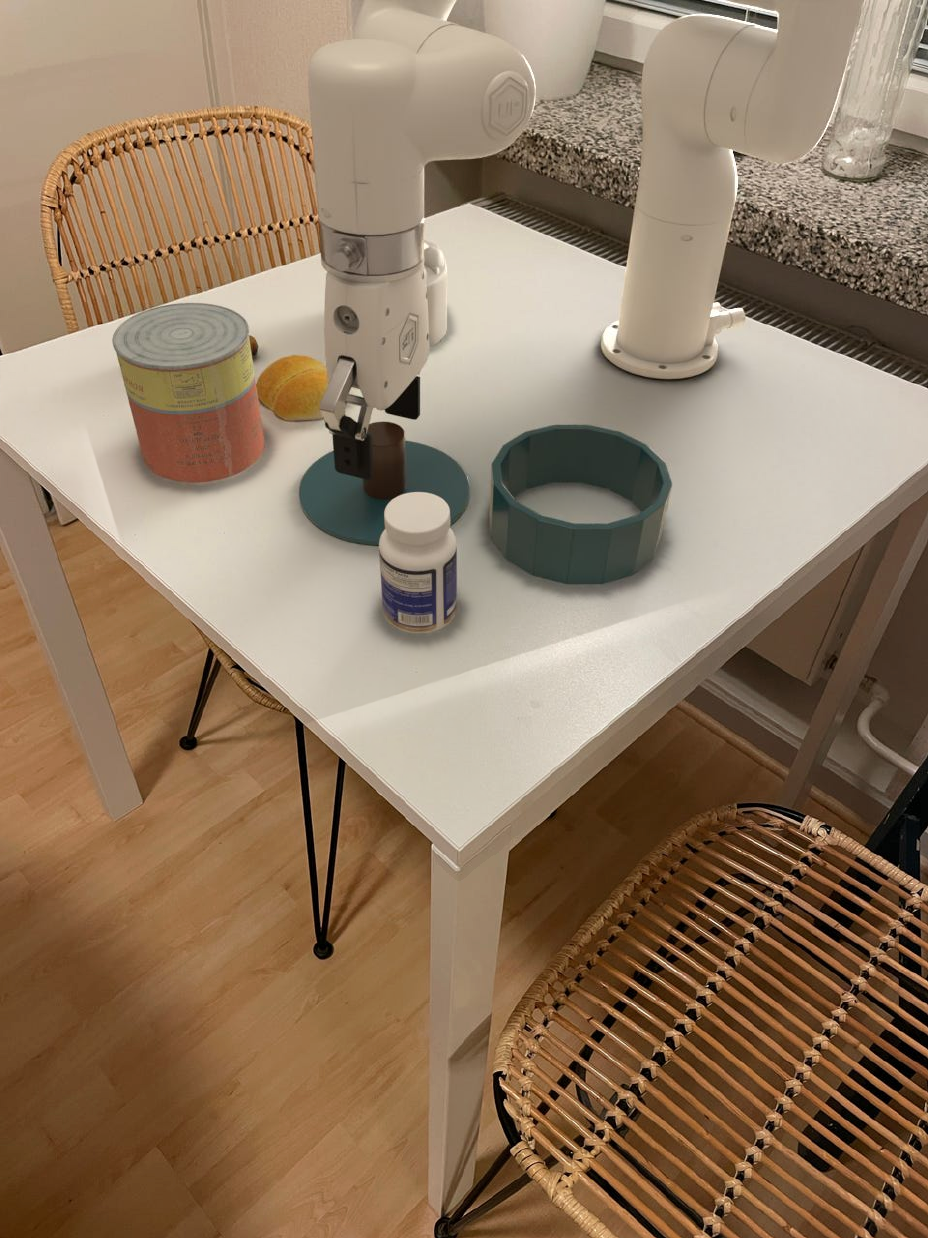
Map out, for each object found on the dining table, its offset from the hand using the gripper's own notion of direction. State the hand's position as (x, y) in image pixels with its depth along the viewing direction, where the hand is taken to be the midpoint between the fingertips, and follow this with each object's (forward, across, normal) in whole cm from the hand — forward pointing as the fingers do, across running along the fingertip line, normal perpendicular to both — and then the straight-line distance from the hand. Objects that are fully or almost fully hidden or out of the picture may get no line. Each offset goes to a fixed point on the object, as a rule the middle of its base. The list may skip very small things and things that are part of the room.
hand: (379, 443), depth 80 cm
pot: (+6, +2, -17) cm, 18 cm away
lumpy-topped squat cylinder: (+6, +30, +11) cm, 33 cm away
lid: (+5, 0, 0) cm, 5 cm away
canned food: (+6, 0, +18) cm, 19 cm away
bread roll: (+6, +12, +14) cm, 19 cm away
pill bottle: (+6, -12, -9) cm, 16 cm away
